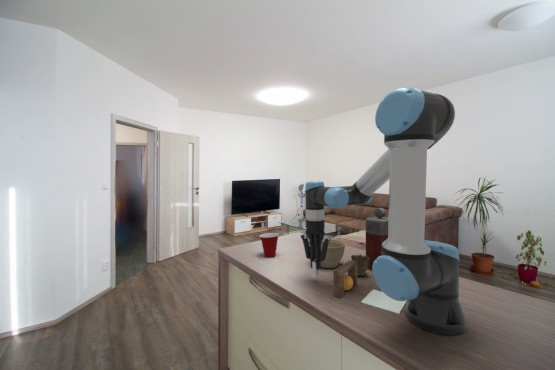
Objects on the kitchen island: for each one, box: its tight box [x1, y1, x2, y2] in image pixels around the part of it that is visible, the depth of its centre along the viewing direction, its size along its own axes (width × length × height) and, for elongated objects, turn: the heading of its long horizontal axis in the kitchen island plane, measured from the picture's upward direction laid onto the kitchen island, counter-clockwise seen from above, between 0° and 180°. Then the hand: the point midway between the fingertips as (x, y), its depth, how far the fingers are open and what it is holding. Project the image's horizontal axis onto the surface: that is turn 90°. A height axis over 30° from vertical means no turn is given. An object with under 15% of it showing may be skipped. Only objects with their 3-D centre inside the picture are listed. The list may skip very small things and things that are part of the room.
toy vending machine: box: [365, 207, 389, 271], centre depth 116 cm, size 9×11×28 cm
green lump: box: [350, 254, 369, 277], centre depth 110 cm, size 8×7×8 cm
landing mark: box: [360, 289, 408, 315], centre depth 87 cm, size 12×12×1 cm
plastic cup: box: [259, 232, 280, 259], centre depth 138 cm, size 11×11×12 cm
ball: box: [344, 274, 354, 291], centre depth 96 cm, size 6×6×6 cm
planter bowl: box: [321, 238, 346, 269], centre depth 123 cm, size 16×16×11 cm
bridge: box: [332, 259, 358, 299], centre depth 96 cm, size 3×14×9 cm, turn 141°
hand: (315, 276), depth 104 cm, fingers closed
